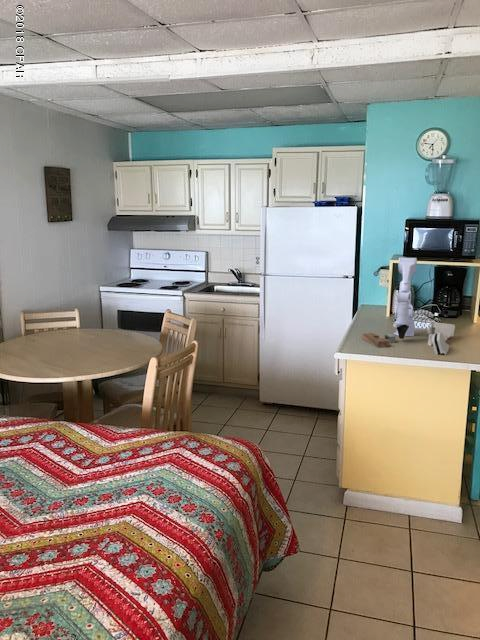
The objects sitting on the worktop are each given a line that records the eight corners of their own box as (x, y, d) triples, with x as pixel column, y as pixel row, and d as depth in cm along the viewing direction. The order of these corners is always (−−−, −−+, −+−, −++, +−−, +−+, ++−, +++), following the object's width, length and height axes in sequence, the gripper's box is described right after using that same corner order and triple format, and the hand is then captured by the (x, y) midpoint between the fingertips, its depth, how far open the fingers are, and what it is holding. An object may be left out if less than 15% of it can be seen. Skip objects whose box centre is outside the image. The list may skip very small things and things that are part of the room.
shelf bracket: (423, 344, 282) (427, 321, 281) (443, 345, 300) (447, 323, 299) (433, 346, 278) (437, 323, 277) (453, 347, 296) (457, 325, 295)
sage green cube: (391, 340, 290) (391, 333, 289) (394, 342, 286) (395, 335, 285) (384, 341, 289) (385, 334, 288) (388, 343, 285) (388, 335, 284)
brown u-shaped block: (373, 338, 295) (373, 333, 294) (390, 346, 278) (390, 340, 277) (361, 339, 293) (362, 333, 292) (377, 347, 276) (378, 341, 275)
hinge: (446, 355, 261) (440, 336, 260) (436, 357, 263) (430, 338, 263) (449, 347, 275) (444, 329, 275) (440, 349, 278) (434, 331, 277)
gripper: (404, 311, 294) (402, 335, 296) (388, 314, 284) (387, 339, 287) (415, 313, 288) (413, 337, 291) (400, 316, 279) (398, 341, 282)
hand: (401, 338), depth 289 cm, fingers closed
